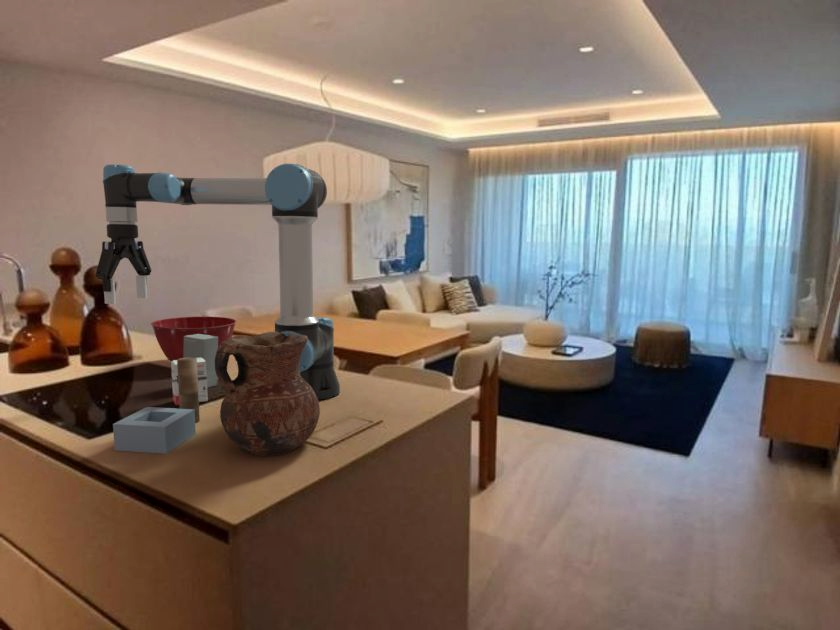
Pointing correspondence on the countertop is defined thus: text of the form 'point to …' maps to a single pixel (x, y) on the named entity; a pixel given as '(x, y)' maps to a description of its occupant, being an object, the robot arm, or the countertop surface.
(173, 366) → the ink box
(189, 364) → the peg
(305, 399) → the jug
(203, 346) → the skincare box
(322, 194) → the robot arm
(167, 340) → the mixing bowl
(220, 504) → the countertop surface
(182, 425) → the socket
